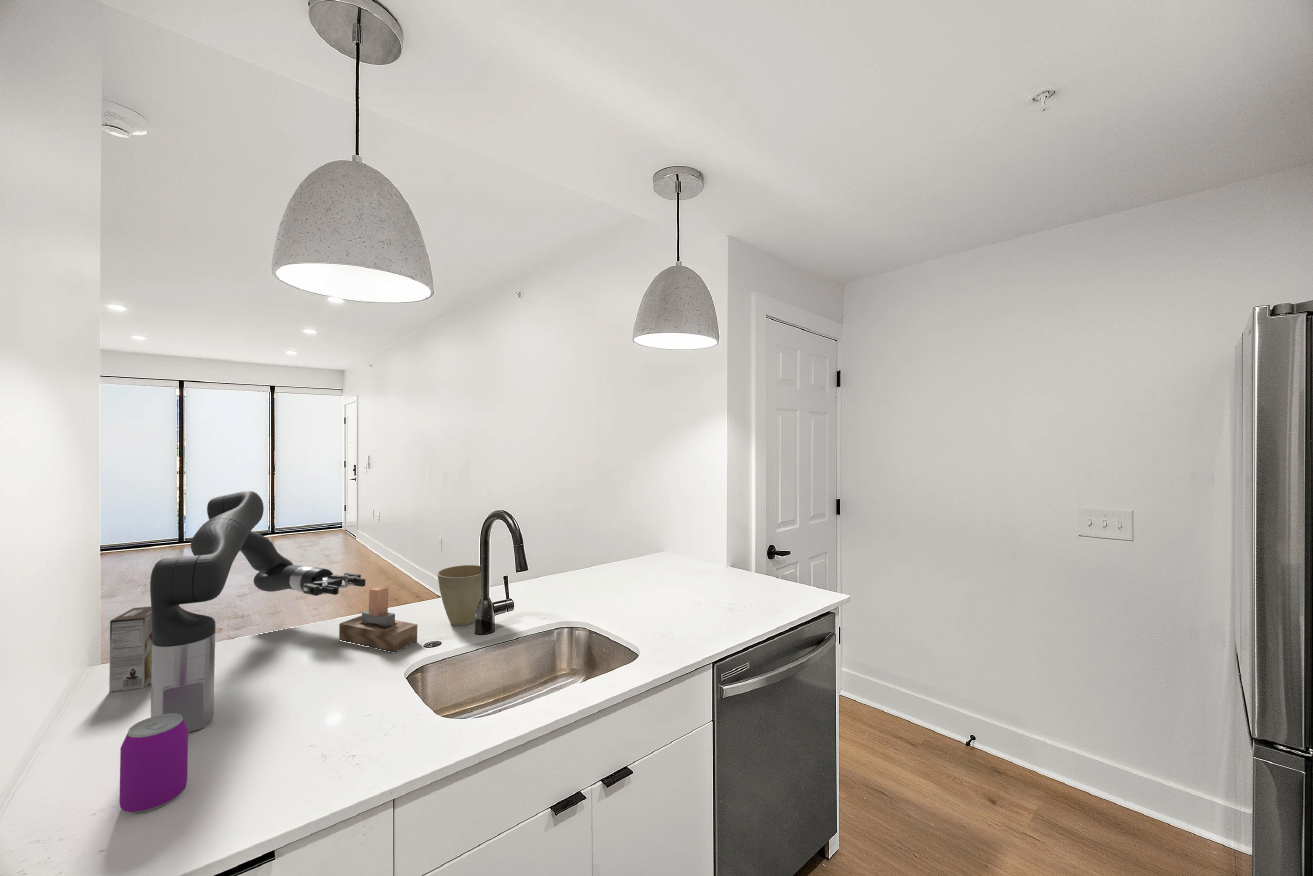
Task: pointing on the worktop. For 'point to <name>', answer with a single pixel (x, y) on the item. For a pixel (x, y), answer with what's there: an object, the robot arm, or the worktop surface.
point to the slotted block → (378, 634)
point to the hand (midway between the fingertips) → (351, 586)
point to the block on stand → (378, 609)
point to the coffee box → (131, 650)
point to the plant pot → (460, 592)
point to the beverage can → (153, 763)
